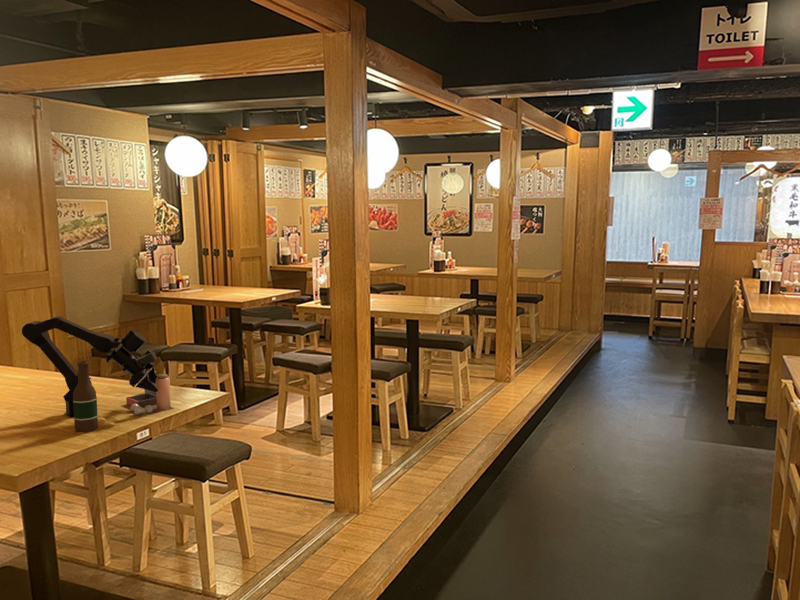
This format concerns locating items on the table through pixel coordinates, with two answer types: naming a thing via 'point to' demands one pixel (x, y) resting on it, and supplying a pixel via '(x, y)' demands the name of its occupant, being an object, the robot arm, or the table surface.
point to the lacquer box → (142, 400)
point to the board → (149, 413)
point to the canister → (163, 392)
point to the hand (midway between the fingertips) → (159, 388)
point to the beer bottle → (84, 401)
